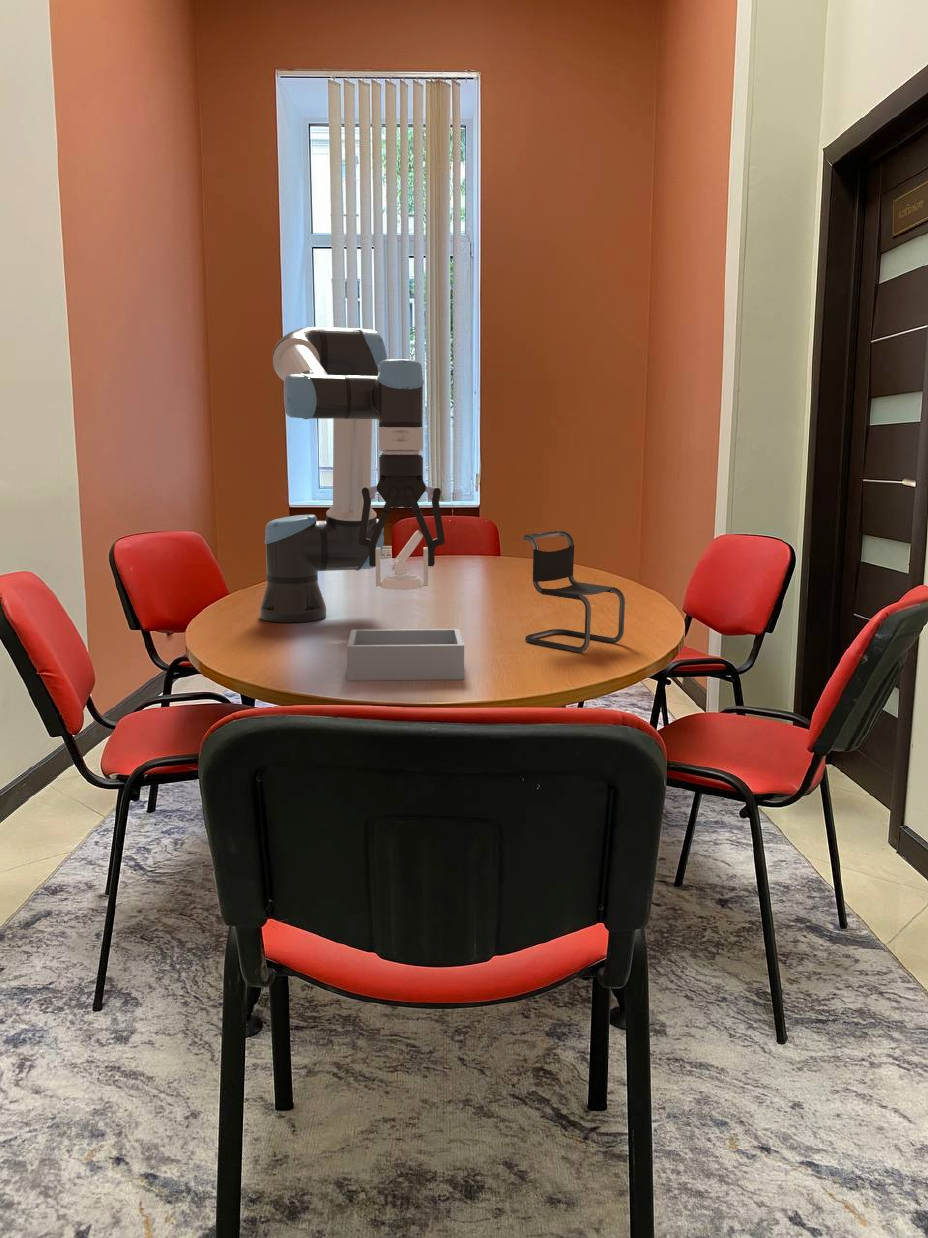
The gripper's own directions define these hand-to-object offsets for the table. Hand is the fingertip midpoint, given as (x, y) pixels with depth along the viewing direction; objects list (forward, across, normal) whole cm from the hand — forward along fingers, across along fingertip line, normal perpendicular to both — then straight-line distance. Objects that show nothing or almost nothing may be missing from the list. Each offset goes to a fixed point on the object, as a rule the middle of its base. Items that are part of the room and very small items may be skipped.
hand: (402, 584), depth 160 cm
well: (+15, +1, 0) cm, 15 cm away
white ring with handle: (0, 0, 0) cm, 0 cm away
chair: (+16, +34, +21) cm, 43 cm away
